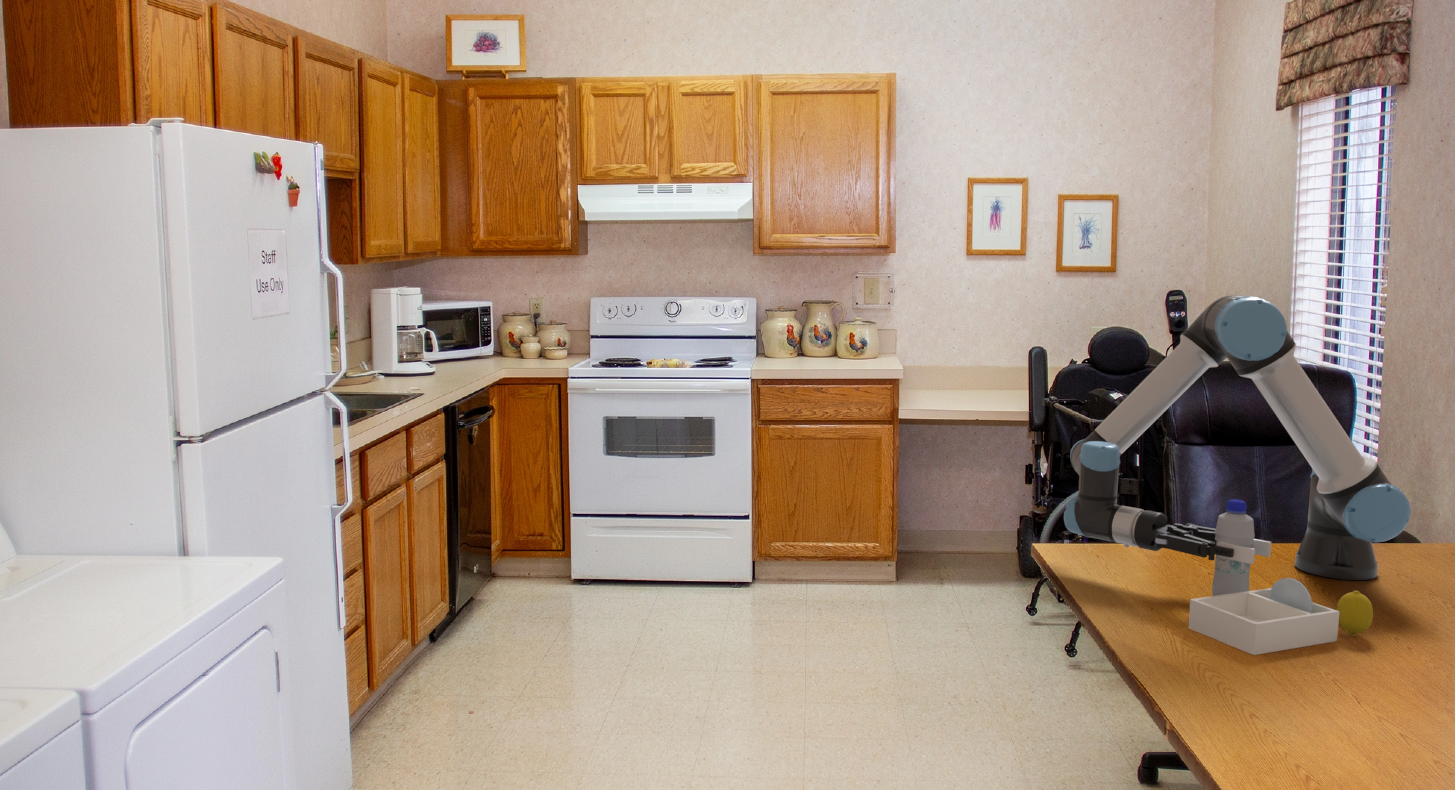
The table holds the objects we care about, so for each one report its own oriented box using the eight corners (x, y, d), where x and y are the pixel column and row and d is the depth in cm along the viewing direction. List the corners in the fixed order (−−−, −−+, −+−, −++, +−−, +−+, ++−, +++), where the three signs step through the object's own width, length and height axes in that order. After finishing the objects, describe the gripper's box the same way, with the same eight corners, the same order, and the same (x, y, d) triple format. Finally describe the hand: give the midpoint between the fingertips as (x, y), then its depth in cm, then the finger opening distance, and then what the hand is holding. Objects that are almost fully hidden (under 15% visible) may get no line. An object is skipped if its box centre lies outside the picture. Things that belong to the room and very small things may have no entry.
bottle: (1203, 599, 211) (1210, 495, 208) (1237, 599, 212) (1244, 495, 209) (1221, 610, 204) (1229, 503, 202) (1256, 610, 205) (1264, 503, 202)
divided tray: (1268, 615, 202) (1272, 566, 201) (1336, 640, 190) (1341, 588, 188) (1188, 627, 195) (1191, 576, 194) (1253, 655, 182) (1258, 600, 181)
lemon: (1375, 642, 189) (1380, 596, 188) (1340, 639, 190) (1344, 594, 189) (1364, 631, 195) (1368, 587, 194) (1329, 629, 196) (1333, 584, 195)
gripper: (1163, 539, 227) (1281, 563, 210) (1115, 555, 214) (1237, 583, 197) (1166, 502, 226) (1284, 524, 209) (1117, 517, 213) (1240, 541, 196)
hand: (1261, 552), depth 203 cm, fingers closed on bottle, 6 cm apart
